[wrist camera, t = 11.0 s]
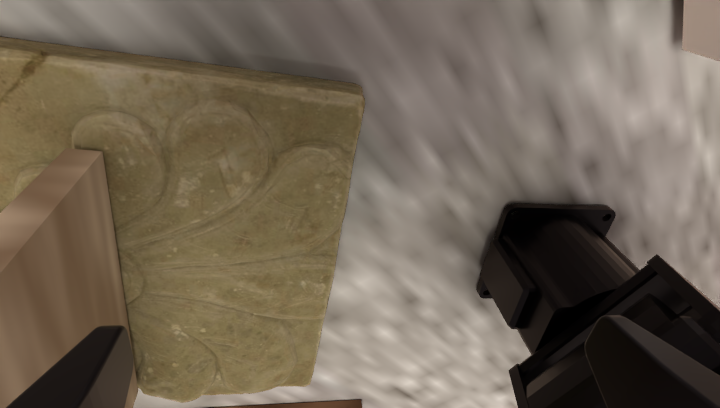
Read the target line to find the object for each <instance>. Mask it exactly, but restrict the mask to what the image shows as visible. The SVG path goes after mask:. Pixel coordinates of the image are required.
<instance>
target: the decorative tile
mask: <svg viewBox="0 0 720 408" xmlns="http://www.w3.org/2000/svg"><path fill="white" fill-rule="evenodd" d="M362 93H363V90H362V87H361V86H359V85H357V84H354V83H347V82H340V81H333V80H326V79H318V78H311V77H304V76H296V75H289V74H281V73H273V72H266V71H258V70H250V69H243V68H236V67H228V66H221V65H213V64H205V63H198V62H190V61H182V60H175V59H167V58H159V57H152V56H144V55H136V54H128V53H121V52H113V51H105V50H98V49H90V48H82V47H75V46H67V45H59V44H52V43H44V42H36V41H28V40H22V39H15V38H8V37H0V213H1V212H2V211H3V210H4V209H5V208H6V207H7V206H8V205H9V204H10V203H11V202H12V201H13V200H14V199H15V198H16V197H17V196H18V195H19V194H20V193H21V192H22V191H23V190H24V189H25V188H26V187H27V186H28V185H29V184H30V183H31V182H32V181H33V180H34V179H35V178H36V177H37V176H38V175H39V174H40V173H41V172H42V171H43V170H44V169H45V168H46V167H47V166H48V165H49V164H50V163H51V162H52V161H53V160H55V159H56V158H57V157H58V156H59V155H60V154H61V153H62V152H63V151H64V150H65V149H66V148H70V149H81V150H93V151H102V152H103V158H104V165H105V172H106V178H107V185H108V192H109V198H110V205H111V212H112V219H113V225H114V232H115V239H116V245H117V252H118V259H119V265H120V272H121V279H122V285H123V292H124V299H125V306H126V312H127V319H128V326H129V332H130V339H131V346H132V352H133V358H134V366H135V373H136V379H137V386H138V388H140V389H141V390H142V392H143V393H144V394H147V395H150V396H155V397H161V398H165V399H169V400H173V401H177V402H181V403H184V402H188V401H192V400H195V399H197V398H199V397H200V396H201V395H217V394H243V393H248V394H250V393H256V392H261V391H266V390H269V389H272V388H275V387H277V386H303V387H305V386H307V385H309V384H310V382H311V378H312V375H313V371H314V365H315V361H316V356H317V350H318V346H319V341H320V335H321V330H322V325H323V320H324V316H325V313H326V308H327V304H328V299H329V294H330V290H331V286H332V281H333V276H334V270H335V263H336V257H337V250H338V244H339V238H340V232H341V227H342V222H343V219H344V215H345V210H346V205H347V199H348V193H349V186H350V179H351V172H352V166H353V161H354V155H355V150H356V145H357V139H358V136H359V132H360V127H361V121H362V116H363V113H364V107H365V99H364V96H363V94H362Z"/></svg>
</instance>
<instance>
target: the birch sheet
mask: <svg viewBox="0 0 720 408" xmlns="http://www.w3.org/2000/svg"><path fill="white" fill-rule="evenodd" d="M109 325H122V326H124V327H126V329H127V331H128V335H129V340H130V344H131V339H130V332H129V326H128V319H127V312H126V306H125V299H124V292H123V285H122V279H121V272H120V265H119V259H118V252H117V245H116V239H115V232H114V225H113V219H112V212H111V205H110V198H109V192H108V185H107V178H106V172H105V165H104V158H103V152H102V151H93V150H81V149H70V148H66V149H65V150H64V151H63V152H62V153H61V154H60V155H59V156H58V157H57V158H56V159H55V160H53V161H52V162H51V163H50V164H49V165H48V166H47V167H46V168H45V169H44V170H43V171H42V172H41V173H40V174H39V175H38V176H37V177H36V178H35V179H34V180H33V181H32V182H31V183H30V184H29V185H28V186H27V187H26V188H25V189H24V190H23V191H22V192H21V193H20V194H19V195H18V196H17V197H16V198H15V199H14V200H13V201H12V202H11V203H10V204H9V205H8V206H7V207H6V208H5V209H4V210H3V211H2V212H1V213H0V408H6V407H7V406H8V405H9V404H10V403H11V402H12V401H14V400H15V399H16V398H17V397H18V396H19V395H20V394H21V393H23V392H24V391H25V390H26V389H27V388H28V387H29V386H31V385H32V384H33V383H34V382H35V381H36V380H37V379H38V378H40V377H41V376H42V375H43V374H44V373H45V372H46V371H47V370H49V369H50V368H51V367H52V366H53V365H54V364H55V363H56V362H58V361H59V360H60V359H61V358H62V357H63V356H64V355H65V354H67V353H68V352H69V351H70V350H71V349H72V348H73V347H75V346H76V345H77V344H78V343H79V342H80V341H81V340H82V339H84V338H85V337H86V336H87V335H88V334H89V333H90V332H91V331H93V330H94V329H95V328H97V327H99V326H109ZM131 349H132V346H131ZM132 353H133V352H132ZM137 393H138V386H137V379H136V373H135V366H133V372H132V377H131V381H130V386H129V390H128V395H127V399H126V404H125V408H133V405H134V402H135V399H136V396H137Z"/></svg>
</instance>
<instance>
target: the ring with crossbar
mask: <svg viewBox="0 0 720 408" xmlns="http://www.w3.org/2000/svg"><path fill="white" fill-rule="evenodd" d="M682 50H685V51H688V52H692V53H695V54H698V55H701V56H704V57H707V58H711V59H714V60H717V61H720V0H684V10H683V43H682Z"/></svg>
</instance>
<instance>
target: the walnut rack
mask: <svg viewBox="0 0 720 408" xmlns="http://www.w3.org/2000/svg"><path fill="white" fill-rule="evenodd" d="M216 408H362V404H361V400H344V401H326V402H308V403H289V404H271V405H253V406H234V407H216Z"/></svg>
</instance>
